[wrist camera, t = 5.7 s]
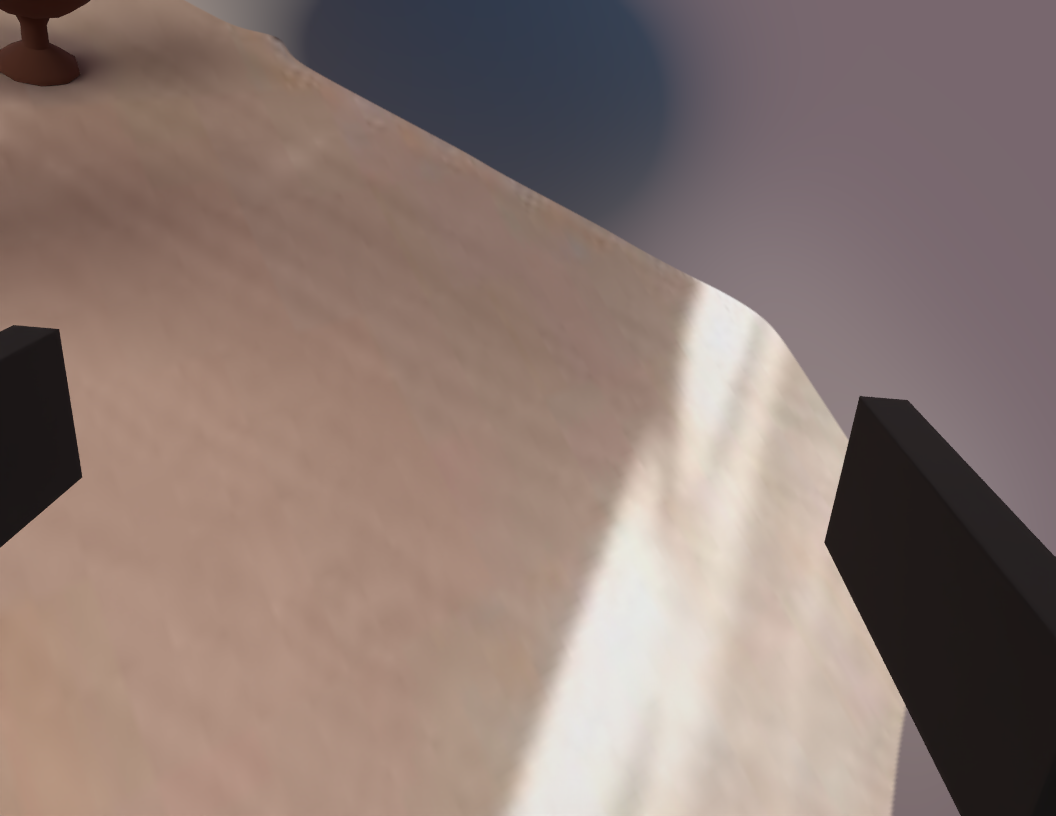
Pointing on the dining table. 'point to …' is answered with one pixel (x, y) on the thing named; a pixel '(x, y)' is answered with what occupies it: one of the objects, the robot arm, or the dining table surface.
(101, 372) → the dining table surface
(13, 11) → the ice cream bowl
